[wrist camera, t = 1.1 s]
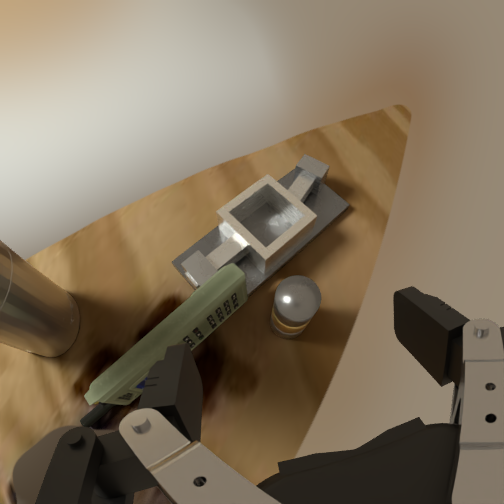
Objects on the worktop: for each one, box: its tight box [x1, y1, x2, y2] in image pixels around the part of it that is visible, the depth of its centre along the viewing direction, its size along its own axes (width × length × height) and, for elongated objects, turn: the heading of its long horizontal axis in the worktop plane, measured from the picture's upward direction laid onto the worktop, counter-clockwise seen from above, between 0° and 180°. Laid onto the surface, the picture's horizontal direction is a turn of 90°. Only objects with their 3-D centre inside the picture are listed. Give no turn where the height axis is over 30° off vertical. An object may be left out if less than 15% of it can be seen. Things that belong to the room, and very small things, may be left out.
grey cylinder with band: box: [270, 275, 321, 339], centre depth 32 cm, size 4×4×9 cm
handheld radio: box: [80, 263, 248, 428], centre depth 31 cm, size 7×3×25 cm
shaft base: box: [172, 154, 349, 297], centre depth 38 cm, size 22×9×5 cm, turn 132°
